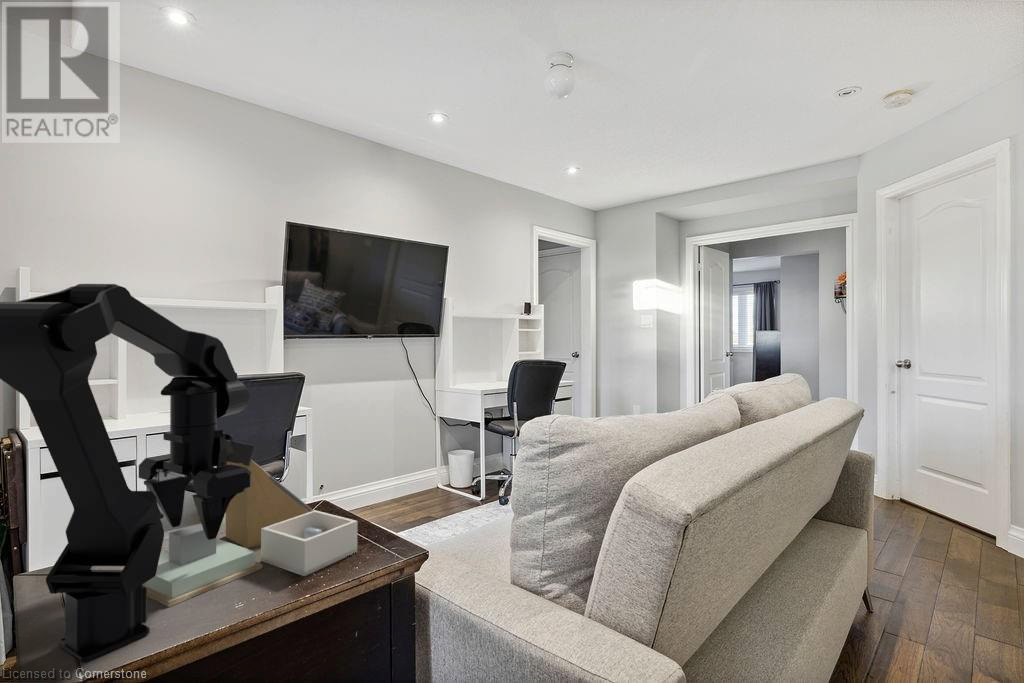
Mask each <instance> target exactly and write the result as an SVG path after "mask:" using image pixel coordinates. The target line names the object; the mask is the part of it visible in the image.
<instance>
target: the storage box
mask: <svg viewBox="0 0 1024 683" xmlns="http://www.w3.org/2000/svg"><path fill="white" fill-rule="evenodd" d="M313 510H314V509H313ZM355 552H356V553H358V520H355V519H351V518H347V517H343V516H340V515H335V514H331V513H328V512H324V511H319V510H314V511H311V512H309V513H306V514H303V515H300V516H297V517H294V518H291V519H288V520H285V521H282V522H279V523H276V524H273V525H270V526H267V527H264V528H261V545H260V561H261V562H263V563H266V564H268V565H272V566H274V567H277V568H280V569H283V570H285V571H289V572H291V573H294V574H297V575H300V576H301V577H306V576H308V575H311V574H313V573H316V572H317V571H320V570H321V569H324V568H326V567H328V566H330V565H332V564H335V563H337V562H339V561H341V560H343V559H345V558H347V556H348V557H349V555H350V556H352V555H354V554H356V553H355ZM353 553H354V554H353Z"/></svg>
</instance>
